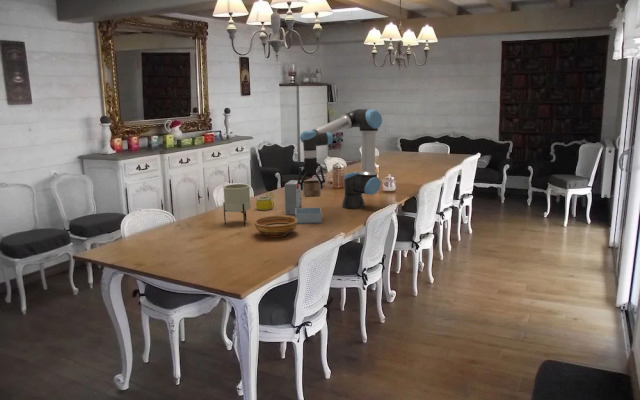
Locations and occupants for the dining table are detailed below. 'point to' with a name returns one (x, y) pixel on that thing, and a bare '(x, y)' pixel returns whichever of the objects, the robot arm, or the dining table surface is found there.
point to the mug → (265, 202)
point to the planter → (236, 199)
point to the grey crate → (308, 215)
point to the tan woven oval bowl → (275, 225)
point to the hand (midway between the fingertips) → (311, 194)
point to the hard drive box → (292, 196)
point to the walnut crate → (312, 188)
